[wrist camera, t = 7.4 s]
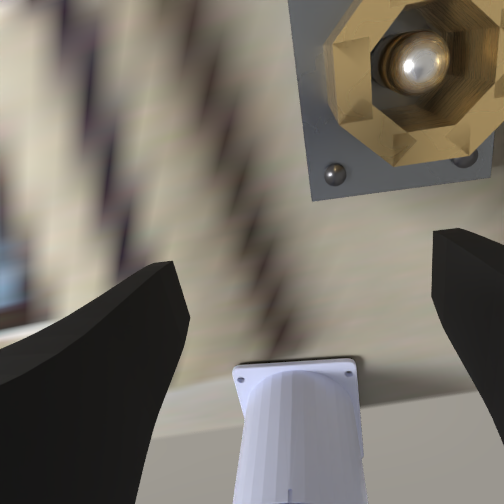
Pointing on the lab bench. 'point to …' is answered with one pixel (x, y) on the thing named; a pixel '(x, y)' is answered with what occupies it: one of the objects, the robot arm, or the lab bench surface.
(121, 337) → the robot arm
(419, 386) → the lab bench surface
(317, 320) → the lab bench surface
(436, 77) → the block
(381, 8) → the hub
